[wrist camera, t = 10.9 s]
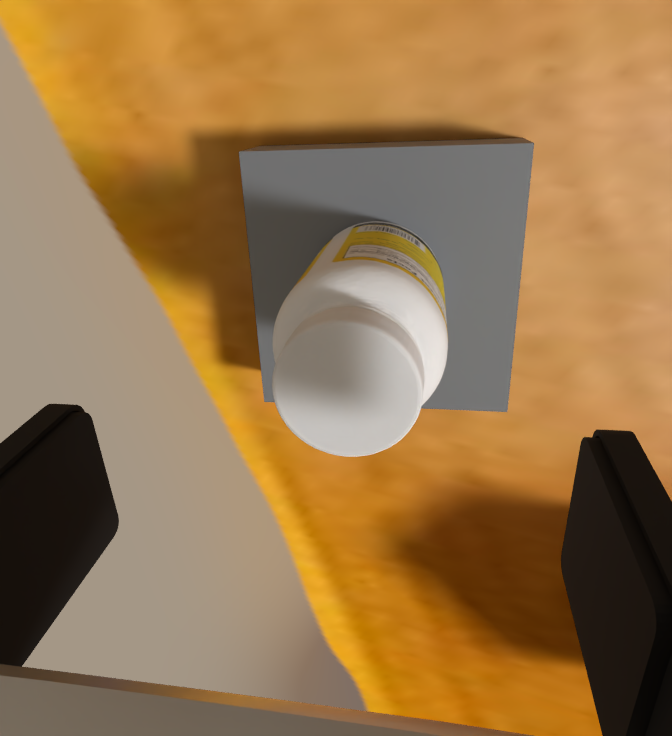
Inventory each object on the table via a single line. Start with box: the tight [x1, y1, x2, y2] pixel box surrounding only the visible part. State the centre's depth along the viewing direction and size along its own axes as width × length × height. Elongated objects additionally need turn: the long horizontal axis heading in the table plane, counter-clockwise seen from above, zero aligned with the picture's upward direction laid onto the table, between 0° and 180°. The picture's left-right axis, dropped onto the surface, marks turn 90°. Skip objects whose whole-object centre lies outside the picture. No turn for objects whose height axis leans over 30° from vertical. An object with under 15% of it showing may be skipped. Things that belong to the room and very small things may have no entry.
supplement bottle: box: [272, 221, 448, 457], centre depth 19 cm, size 5×5×10 cm
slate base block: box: [239, 138, 534, 412], centre depth 25 cm, size 11×11×3 cm
